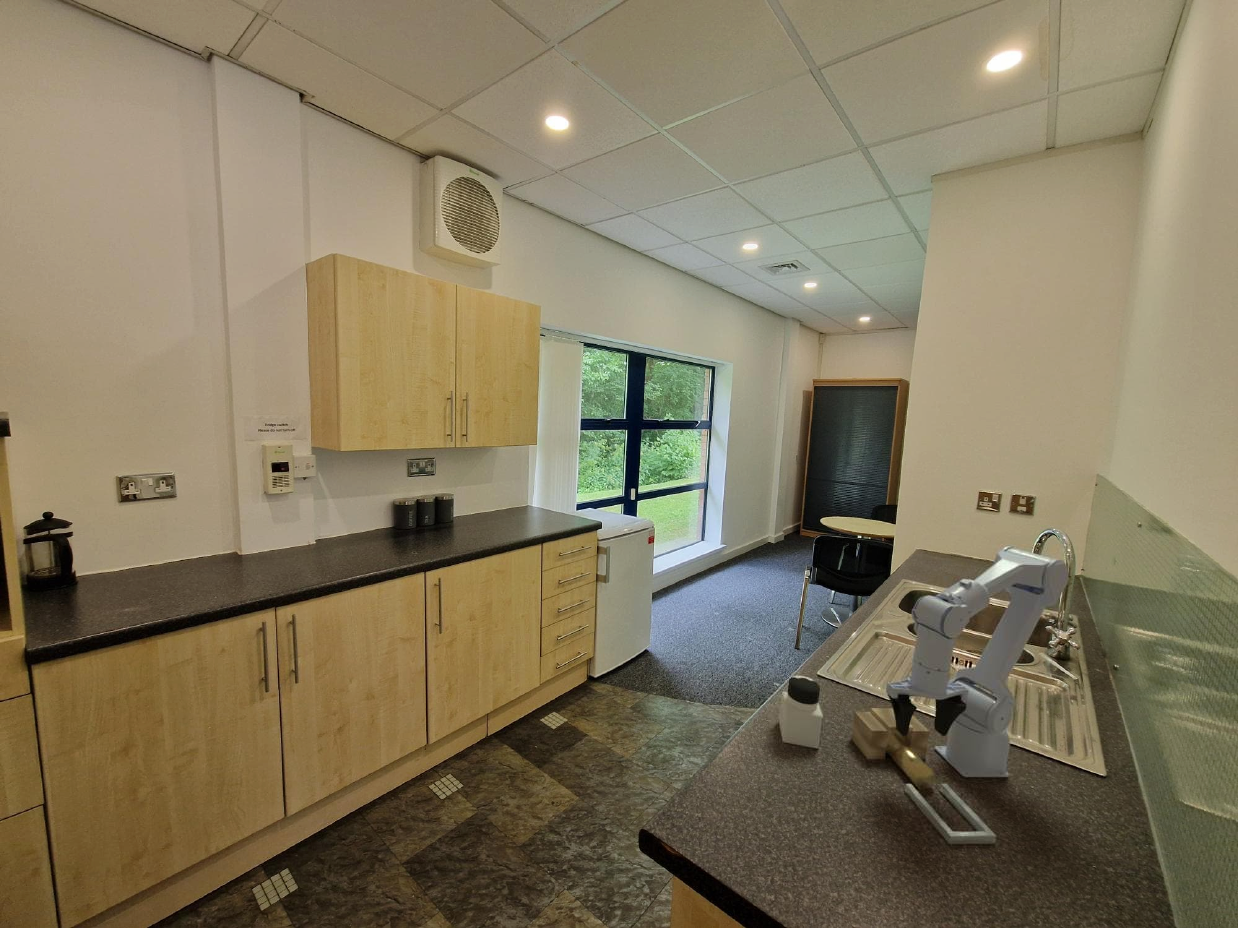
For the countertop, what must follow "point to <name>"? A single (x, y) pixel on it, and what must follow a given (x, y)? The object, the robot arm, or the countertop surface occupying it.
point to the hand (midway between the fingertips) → (920, 732)
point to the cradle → (952, 837)
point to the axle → (910, 762)
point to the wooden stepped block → (885, 733)
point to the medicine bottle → (801, 713)
